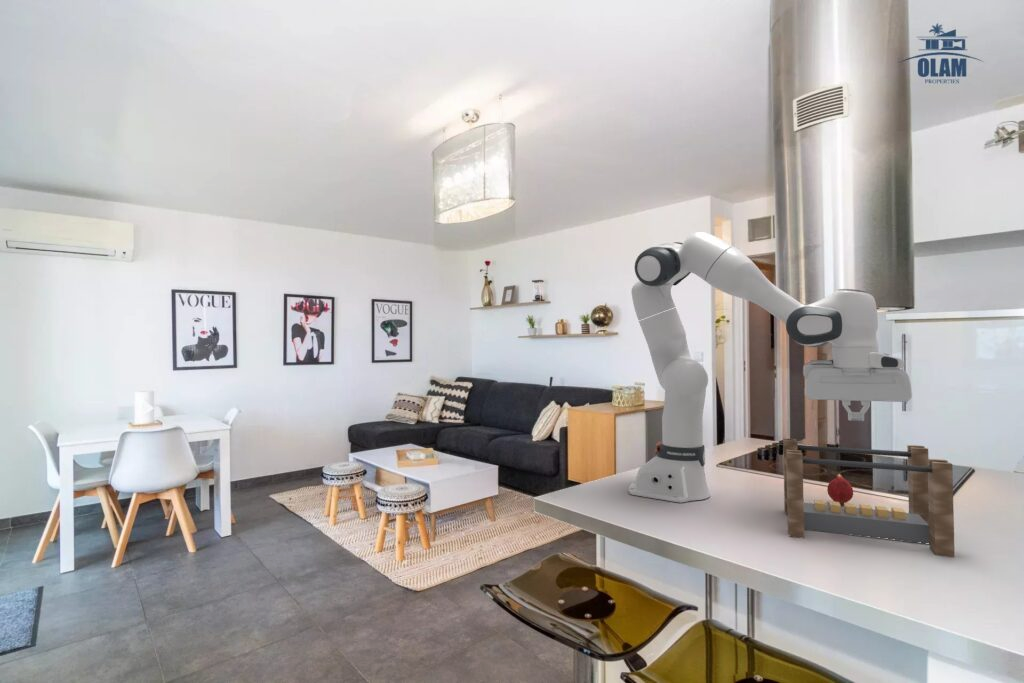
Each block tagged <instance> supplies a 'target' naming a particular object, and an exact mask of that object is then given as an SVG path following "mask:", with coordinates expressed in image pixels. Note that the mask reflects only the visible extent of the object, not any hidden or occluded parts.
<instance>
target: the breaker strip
mask: <svg viewBox="0 0 1024 683" xmlns="http://www.w3.org/2000/svg"><path fill="white" fill-rule="evenodd" d="M805 529H807V530H806V531H813V530H815V532H822V531H825V532H824V533H830V532H834V533H833V534H838V533H844V534H843V535H847V534H852V535H851V536H855V535H861V536H860V537H863V536H870V537H869V538H871V537H880V538H888V539H895V540H894V541H896V540H903V541H902V542H905V541H911V542H910V543H913V542H921V543H929V525H928V524H927V523H926V521H925V520H924V519H923V518H922V517H921V516H920V515H919V514H913V513H909V512H906V511H905V510H904V509H903V508H901V507H894V506H891V508H890V510H889V508H887V506H882V505H875V506H874V509H873V508H872V506H871V505H870V504H862V503H859V506H858V507H857V505H856V504H855V503H853V502H846V503H844V504H843V505H840V503H839V502H835V501H833V500H832V501H831V500H829V501H828V504H826V502H825V500H821V499H814V500H813V503H812V502H804V530H805ZM880 538H879V539H880ZM888 539H887V540H888ZM921 543H920V544H921ZM928 545H930V543H929V544H928Z"/></svg>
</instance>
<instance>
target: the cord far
mask: <svg viewBox="0 0 1024 683" xmlns="http://www.w3.org/2000/svg"><path fill="white" fill-rule="evenodd" d="M797 445H798V451H812V452H825V453H826V452H827V453H828V452H829V453H841V454H844V453H845V454H858V455H874V456H875V455H876V456H888V457H889V456H890V457H906V458H908V457H911V452H907V451H904V450H890V449H889V450H887V449H873V448H871V449H869V448H852V447H835V446H820V445H803V444H802V445H801V444H797Z"/></svg>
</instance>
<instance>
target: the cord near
mask: <svg viewBox="0 0 1024 683" xmlns="http://www.w3.org/2000/svg"><path fill="white" fill-rule="evenodd" d="M803 464H807V465H819V466H820V465H822V466H832V467H833V466H836V467H837V466H838V467H848V468H849V467H850V468H862V469H863V468H865V469H875V470H876V469H878V470H888V471H889V470H891V471H903V472H908V471H916V472H930V473H932V467H929V466H915V465H908V464H897V463H896V464H895V463H883V462H869V461H867V462H866V461H852V460H842V459H841V460H840V459H825V458H824V459H822V458H809V457H807V458H806V457H803Z"/></svg>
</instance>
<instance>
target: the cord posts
mask: <svg viewBox="0 0 1024 683" xmlns="http://www.w3.org/2000/svg"><path fill="white" fill-rule="evenodd" d="M782 444H783V445H782V446H783V447H782V450H783V451H782V456H783V493H784V494H783V496H784V498H783V500H784V501H783V502H784V515H785V514H788V515H787V533H789V534H788V536H789V535H790V536H789V537H792V536H796V537H795V538H800V537H804V538H805V529H804V503H805V502H804V499H805V498H804V463H803V458H804V457H803V456H804V455H803V453H802V450H798V445H799V444H798V439H797V438H787V437H786V438H785V437H783V438H782ZM906 450H907V451H906V452H911V457H907V465H915V466H929V467H932V473H930V472H916V471H907V485H908V486H907V488H908V489H907V490H908V491H907V492H908V513H913V514H919V515H920V516H921V517H922V518H923V519H924V520H925V521H926V523H927V524H928V525H929V543H930V544H929V549H930V548H931V549H930V550H931V551H932V552H933V554H934V555H935V554H936V555H937V556H944V557H951V558H955V518H954V512H955V511H954V510H955V509H954V478H953V476H954V474H953V473H954V470H953V469H954V468H953V463H951V462H949V461H948V460H946V459H936V458H929V448H927V447H925V446H924V445H917V444H914V445H913V444H907V449H906Z"/></svg>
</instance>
